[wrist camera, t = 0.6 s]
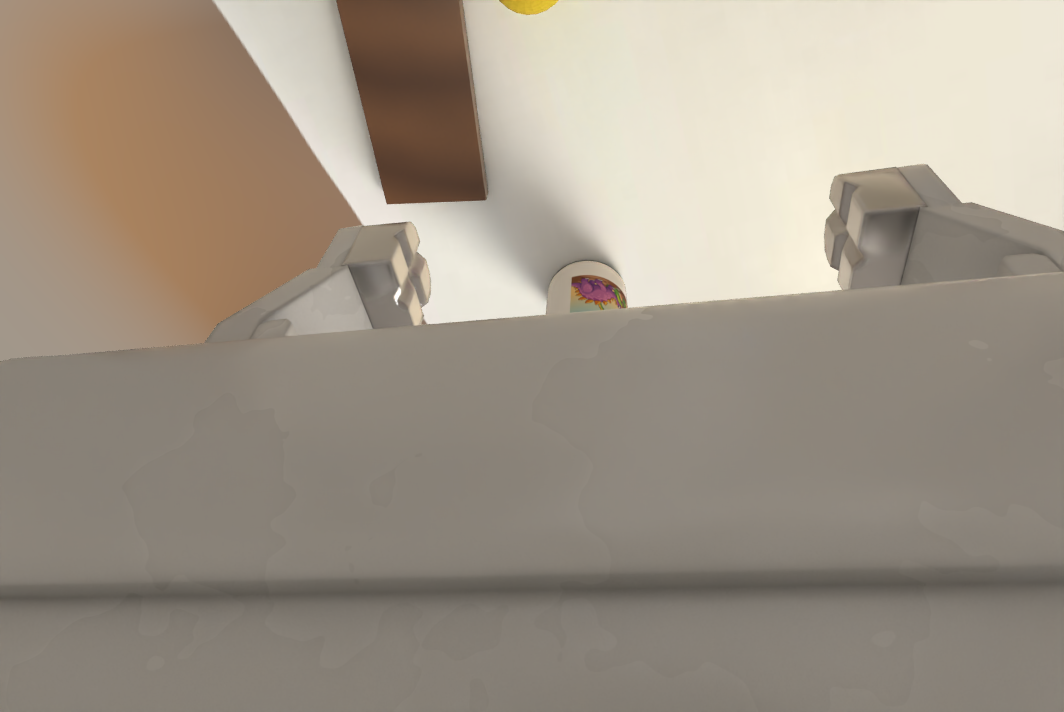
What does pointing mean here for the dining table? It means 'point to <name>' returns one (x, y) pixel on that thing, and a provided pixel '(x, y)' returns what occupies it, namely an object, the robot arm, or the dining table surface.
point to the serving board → (417, 97)
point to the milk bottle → (586, 289)
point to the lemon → (528, 5)
